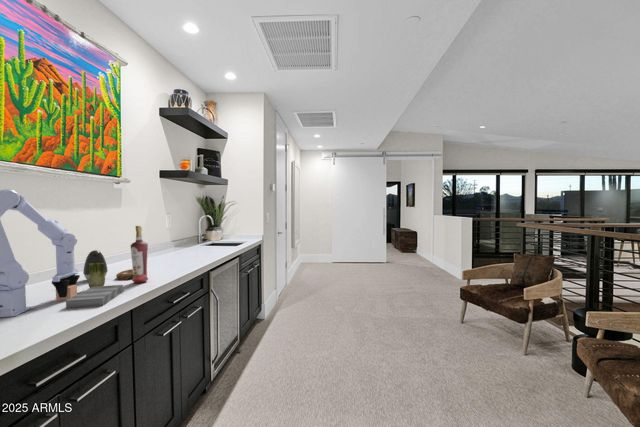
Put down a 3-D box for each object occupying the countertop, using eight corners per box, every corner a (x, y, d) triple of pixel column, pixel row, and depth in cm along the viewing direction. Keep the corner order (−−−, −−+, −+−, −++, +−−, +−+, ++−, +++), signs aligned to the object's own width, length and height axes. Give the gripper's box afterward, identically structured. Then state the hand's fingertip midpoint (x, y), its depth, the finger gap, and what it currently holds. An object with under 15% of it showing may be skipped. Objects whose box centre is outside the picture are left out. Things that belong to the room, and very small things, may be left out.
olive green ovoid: (83, 283, 152) (82, 252, 151) (83, 279, 160) (82, 250, 159) (108, 279, 158) (107, 250, 158) (107, 276, 166) (105, 248, 166)
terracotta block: (70, 299, 124) (70, 287, 124) (56, 300, 123) (55, 288, 123) (77, 296, 129) (76, 284, 129) (63, 297, 128) (62, 285, 127)
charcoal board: (103, 305, 116) (102, 297, 116) (66, 308, 113) (65, 300, 113) (123, 291, 135) (123, 284, 135) (92, 293, 132) (92, 286, 132)
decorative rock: (122, 275, 169) (114, 283, 155) (121, 268, 169) (113, 275, 155) (145, 273, 173) (139, 279, 159) (145, 265, 172) (138, 272, 158)
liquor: (152, 280, 154) (150, 225, 153) (140, 284, 147) (138, 226, 146) (140, 280, 156) (138, 225, 155) (128, 283, 149) (126, 226, 148)
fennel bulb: (106, 287, 143) (105, 261, 143) (98, 290, 138) (97, 263, 138) (94, 287, 143) (93, 261, 143) (86, 290, 138) (85, 263, 138)
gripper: (66, 265, 119) (68, 299, 120) (85, 258, 133) (86, 289, 134) (45, 266, 118) (47, 301, 118) (66, 259, 132) (68, 290, 132)
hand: (66, 295), depth 126 cm, fingers closed on terracotta block, 5 cm apart
